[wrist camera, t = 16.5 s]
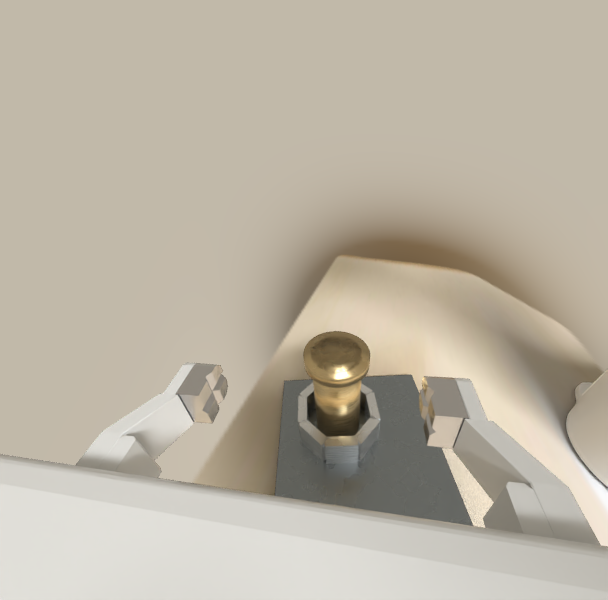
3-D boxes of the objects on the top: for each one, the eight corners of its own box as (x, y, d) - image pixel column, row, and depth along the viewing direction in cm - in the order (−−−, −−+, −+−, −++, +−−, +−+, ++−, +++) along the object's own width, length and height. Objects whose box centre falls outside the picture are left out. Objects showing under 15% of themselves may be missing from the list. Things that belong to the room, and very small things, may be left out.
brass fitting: (373, 416, 34) (380, 344, 27) (349, 462, 29) (351, 390, 23) (328, 393, 37) (325, 324, 30) (301, 432, 33) (290, 361, 26)
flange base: (410, 379, 39) (415, 356, 36) (475, 542, 24) (490, 523, 22) (285, 385, 40) (281, 363, 37) (272, 546, 25) (264, 527, 22)
